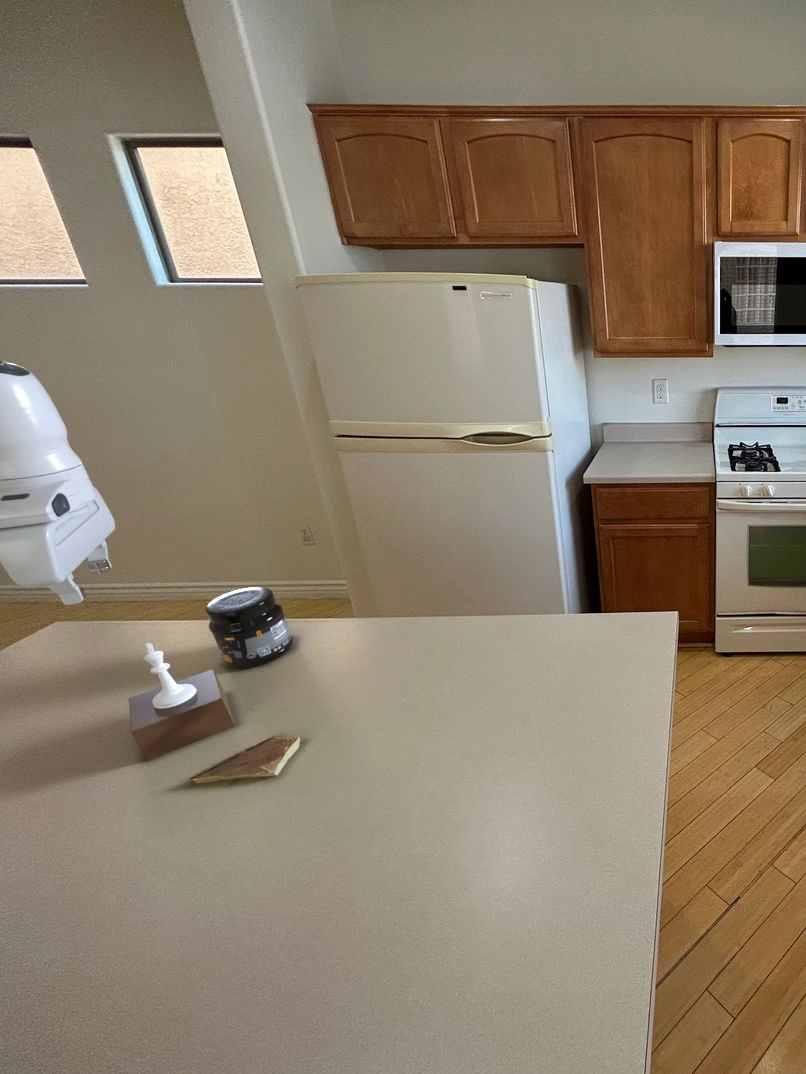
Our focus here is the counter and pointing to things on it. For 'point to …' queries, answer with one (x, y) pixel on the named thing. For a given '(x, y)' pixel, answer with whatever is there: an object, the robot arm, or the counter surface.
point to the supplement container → (249, 627)
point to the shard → (253, 761)
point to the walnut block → (180, 717)
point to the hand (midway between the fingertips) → (90, 586)
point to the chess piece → (167, 682)
